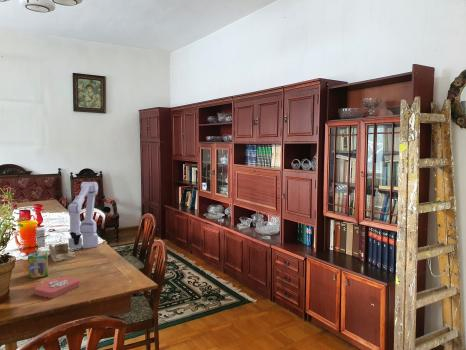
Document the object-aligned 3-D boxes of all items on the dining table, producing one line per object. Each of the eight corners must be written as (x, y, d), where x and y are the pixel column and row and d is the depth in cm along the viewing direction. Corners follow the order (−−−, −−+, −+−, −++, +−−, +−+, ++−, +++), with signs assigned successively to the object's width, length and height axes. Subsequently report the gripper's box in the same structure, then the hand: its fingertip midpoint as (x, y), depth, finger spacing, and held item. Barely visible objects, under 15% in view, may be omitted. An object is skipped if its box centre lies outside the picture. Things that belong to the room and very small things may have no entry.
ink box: (31, 247, 248) (30, 230, 247) (30, 246, 252) (29, 229, 251) (45, 246, 252) (44, 229, 251) (44, 244, 256) (43, 227, 255)
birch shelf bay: (69, 251, 241) (69, 241, 240) (75, 258, 228) (75, 247, 227) (49, 254, 234) (49, 244, 233) (54, 261, 221) (53, 250, 220)
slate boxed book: (80, 245, 236) (80, 237, 236) (82, 247, 233) (81, 238, 233) (68, 247, 232) (68, 238, 232) (70, 248, 229) (69, 240, 229)
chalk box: (48, 276, 197) (47, 249, 195) (28, 279, 193) (27, 251, 191) (48, 271, 205) (47, 244, 204) (29, 273, 201) (28, 246, 200)
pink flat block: (59, 274, 191) (81, 278, 185) (59, 281, 192) (81, 286, 186) (28, 286, 175) (51, 291, 169) (28, 294, 175) (51, 300, 169)
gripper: (65, 221, 235) (66, 242, 236) (70, 225, 223) (71, 247, 224) (77, 220, 239) (77, 240, 240) (83, 224, 227) (83, 245, 229)
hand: (75, 243), depth 233 cm, fingers closed on slate boxed book, 4 cm apart
